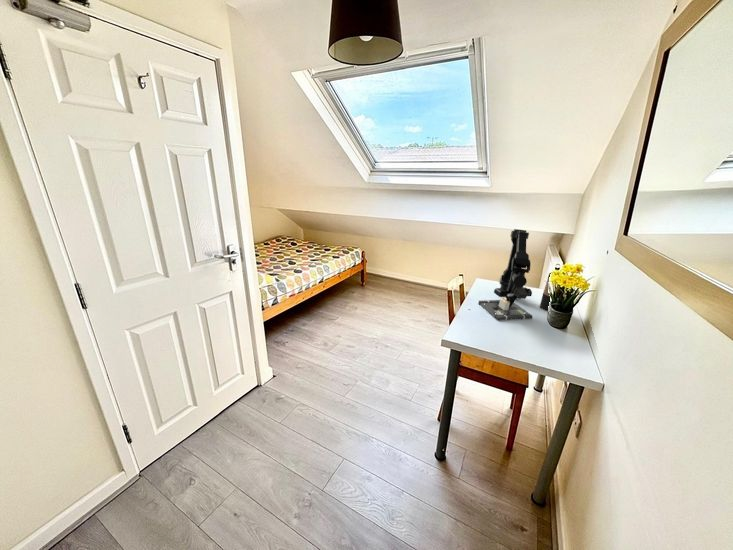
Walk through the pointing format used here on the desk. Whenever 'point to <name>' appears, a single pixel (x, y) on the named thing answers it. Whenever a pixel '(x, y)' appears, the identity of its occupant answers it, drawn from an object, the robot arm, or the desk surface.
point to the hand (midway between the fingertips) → (509, 306)
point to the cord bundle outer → (514, 317)
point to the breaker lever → (504, 304)
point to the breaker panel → (497, 311)
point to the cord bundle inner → (489, 301)
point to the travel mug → (545, 297)
